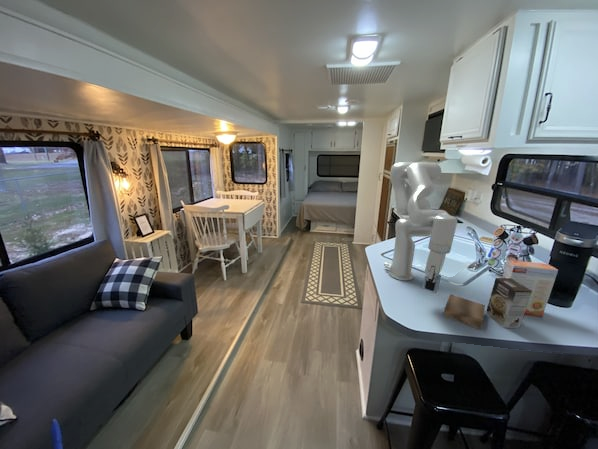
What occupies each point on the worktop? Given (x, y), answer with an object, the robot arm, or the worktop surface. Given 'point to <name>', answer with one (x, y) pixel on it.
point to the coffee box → (508, 302)
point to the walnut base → (465, 311)
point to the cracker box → (533, 282)
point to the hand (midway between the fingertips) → (430, 285)
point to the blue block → (435, 283)
